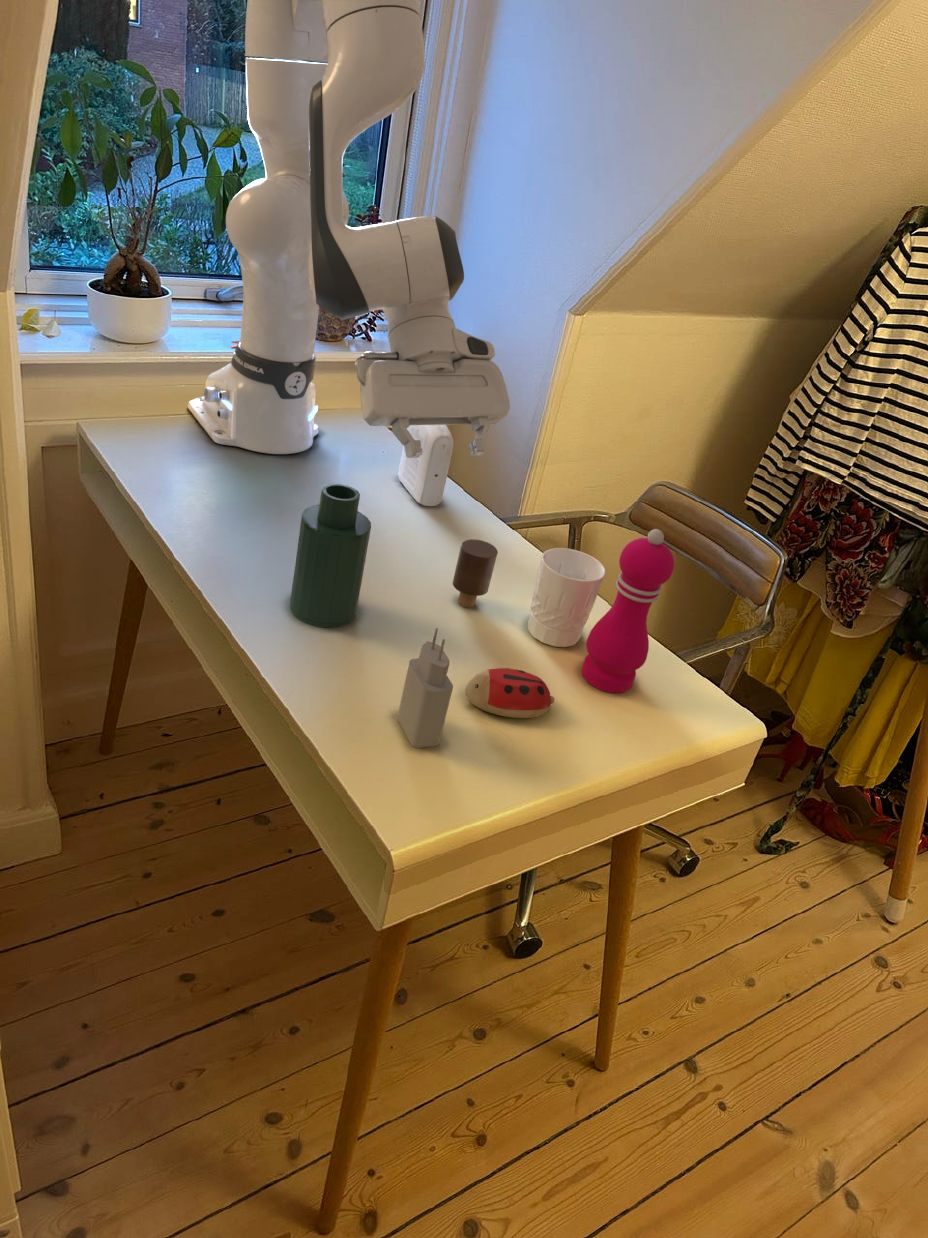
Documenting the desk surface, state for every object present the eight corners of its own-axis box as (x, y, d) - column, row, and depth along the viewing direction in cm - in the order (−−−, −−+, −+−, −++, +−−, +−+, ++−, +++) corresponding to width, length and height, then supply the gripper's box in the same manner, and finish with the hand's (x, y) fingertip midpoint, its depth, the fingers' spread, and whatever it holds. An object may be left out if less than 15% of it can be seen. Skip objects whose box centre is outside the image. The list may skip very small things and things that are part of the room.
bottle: (277, 600, 115) (291, 481, 107) (331, 586, 120) (348, 472, 112) (314, 633, 111) (332, 513, 103) (368, 618, 116) (389, 502, 108)
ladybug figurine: (461, 680, 109) (467, 654, 107) (545, 690, 111) (553, 664, 109) (466, 717, 103) (473, 690, 101) (555, 727, 105) (564, 701, 103)
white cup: (512, 616, 123) (531, 548, 118) (565, 614, 126) (585, 547, 121) (539, 652, 117) (560, 582, 112) (594, 648, 120) (617, 580, 115)
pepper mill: (634, 703, 112) (690, 553, 102) (574, 685, 113) (624, 534, 102) (637, 670, 118) (690, 525, 108) (580, 653, 119) (627, 508, 108)
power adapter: (422, 712, 102) (444, 617, 96) (441, 745, 98) (465, 648, 92) (395, 714, 101) (415, 618, 95) (413, 748, 97) (435, 651, 91)
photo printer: (444, 507, 146) (461, 430, 140) (418, 507, 144) (434, 429, 138) (418, 476, 154) (433, 402, 147) (393, 476, 152) (407, 401, 145)
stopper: (441, 597, 123) (453, 542, 119) (467, 590, 126) (480, 536, 122) (464, 616, 121) (478, 560, 117) (491, 608, 124) (505, 553, 120)
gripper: (362, 339, 117) (384, 448, 115) (503, 344, 127) (526, 444, 126) (343, 362, 122) (363, 466, 121) (480, 365, 133) (501, 461, 131)
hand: (447, 455), depth 123 cm, fingers open, 8 cm apart
